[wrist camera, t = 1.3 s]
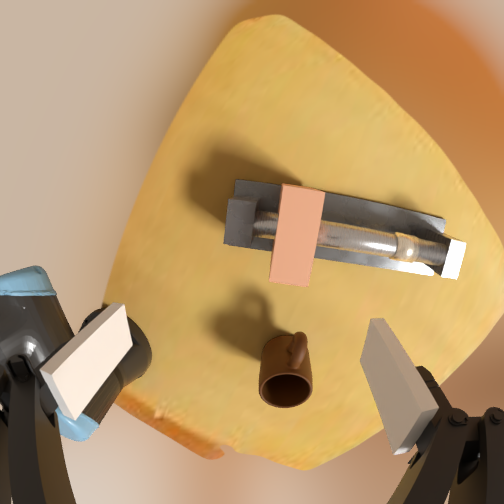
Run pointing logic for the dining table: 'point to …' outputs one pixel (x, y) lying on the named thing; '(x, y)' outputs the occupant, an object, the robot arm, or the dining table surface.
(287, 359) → the mug
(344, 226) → the pipe rig
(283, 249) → the collar
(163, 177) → the dining table surface
